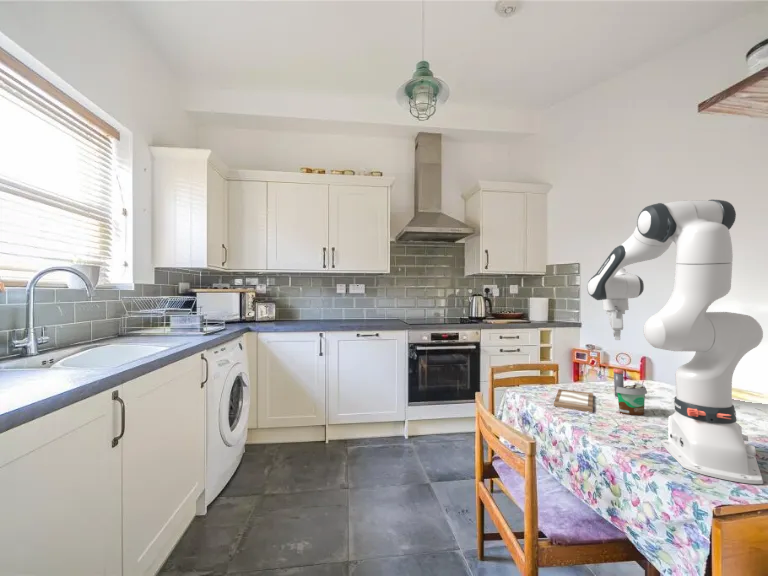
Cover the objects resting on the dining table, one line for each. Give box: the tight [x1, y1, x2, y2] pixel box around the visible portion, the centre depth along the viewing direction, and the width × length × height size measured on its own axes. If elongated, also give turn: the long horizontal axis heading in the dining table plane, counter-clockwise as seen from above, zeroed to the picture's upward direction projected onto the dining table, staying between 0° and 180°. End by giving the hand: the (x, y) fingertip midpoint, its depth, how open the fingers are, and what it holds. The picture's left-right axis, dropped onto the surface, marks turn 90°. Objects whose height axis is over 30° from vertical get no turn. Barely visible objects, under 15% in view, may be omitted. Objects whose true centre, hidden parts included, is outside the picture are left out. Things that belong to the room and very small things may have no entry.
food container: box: [616, 382, 648, 417], centre depth 118 cm, size 12×6×10 cm, turn 114°
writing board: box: [553, 388, 594, 413], centre depth 133 cm, size 22×13×1 cm, turn 147°
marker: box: [613, 368, 625, 400], centre depth 135 cm, size 3×3×12 cm
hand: (616, 338), depth 135 cm, fingers open, 8 cm apart
